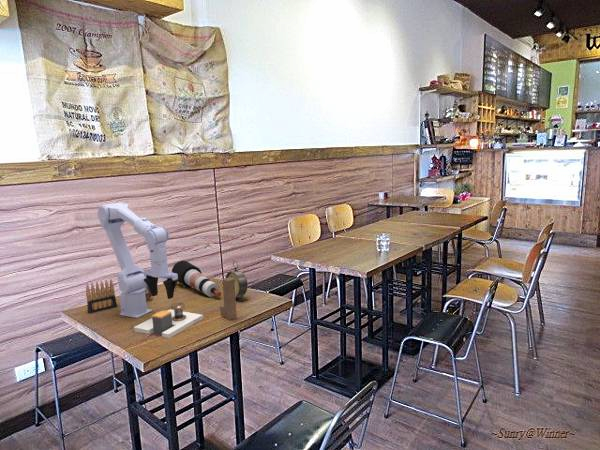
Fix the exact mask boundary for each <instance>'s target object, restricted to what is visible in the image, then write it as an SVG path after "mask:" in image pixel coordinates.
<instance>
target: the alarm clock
mask: <svg viewBox="0 0 600 450" xmlns="http://www.w3.org/2000/svg"><path fill="white" fill-rule="evenodd" d="M235 263H236V265H237V267H235V265H234V264H235ZM232 266H233V267H234V270H233V271H229V272H228V271H227V273H226V274H225V278H229V277H230V278H233V279H234V284H235V298H239V299H240V301H241V302H243V296H245V295H246V293H247V291H248V280H247V277H246V275H245V273H243V272H242V271H241V270H238V268H239V264H238V262H237V261H236V260H233V262H232Z"/></svg>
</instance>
